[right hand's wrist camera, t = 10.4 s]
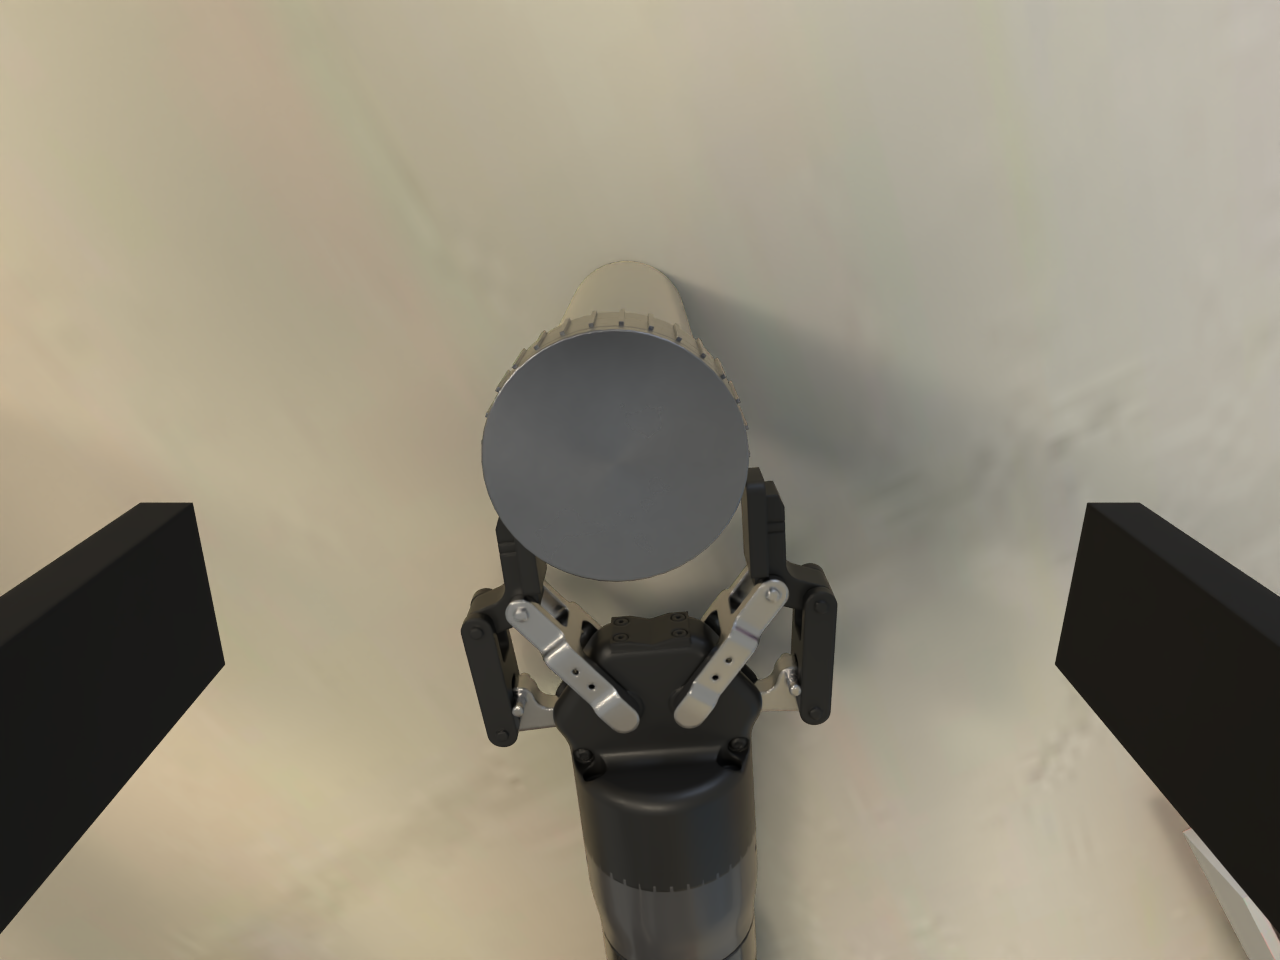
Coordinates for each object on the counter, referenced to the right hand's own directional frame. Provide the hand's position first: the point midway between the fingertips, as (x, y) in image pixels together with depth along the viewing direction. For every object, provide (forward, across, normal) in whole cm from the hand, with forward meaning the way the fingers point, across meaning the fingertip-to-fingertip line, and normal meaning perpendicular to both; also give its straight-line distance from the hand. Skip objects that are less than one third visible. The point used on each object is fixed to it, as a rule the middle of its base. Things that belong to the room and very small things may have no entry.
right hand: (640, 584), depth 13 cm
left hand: (+18, 0, +5) cm, 19 cm away
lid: (+7, +1, 0) cm, 7 cm away
